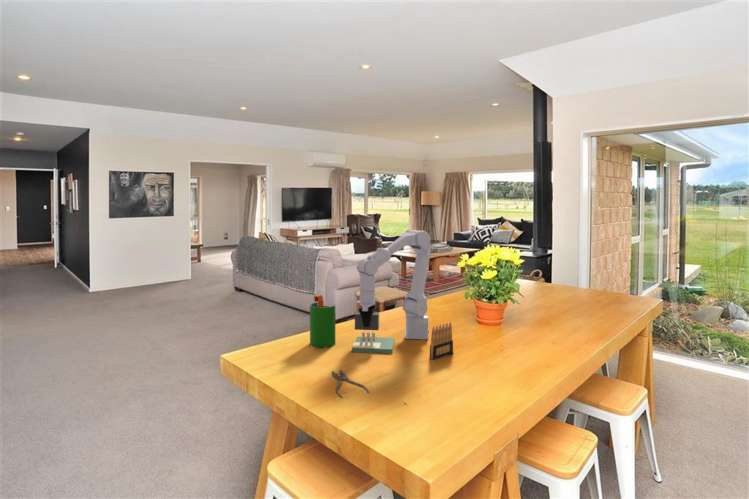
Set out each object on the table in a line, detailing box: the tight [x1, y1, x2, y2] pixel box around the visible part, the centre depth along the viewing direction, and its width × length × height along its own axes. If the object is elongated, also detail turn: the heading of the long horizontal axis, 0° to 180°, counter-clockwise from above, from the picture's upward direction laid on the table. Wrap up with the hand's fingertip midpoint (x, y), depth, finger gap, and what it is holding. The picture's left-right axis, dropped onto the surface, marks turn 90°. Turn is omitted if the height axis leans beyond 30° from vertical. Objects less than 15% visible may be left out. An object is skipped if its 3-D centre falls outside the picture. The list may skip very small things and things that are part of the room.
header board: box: [351, 331, 395, 354], centre depth 177 cm, size 15×14×4 cm
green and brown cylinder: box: [309, 294, 336, 349], centre depth 179 cm, size 10×9×20 cm
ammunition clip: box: [429, 321, 454, 361], centre depth 166 cm, size 11×2×12 cm, turn 129°
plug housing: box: [354, 311, 380, 331], centre depth 177 cm, size 9×4×6 cm, turn 84°
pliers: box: [331, 369, 370, 399], centre depth 143 cm, size 10×1×20 cm
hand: (367, 324), depth 177 cm, fingers closed on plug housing, 4 cm apart
